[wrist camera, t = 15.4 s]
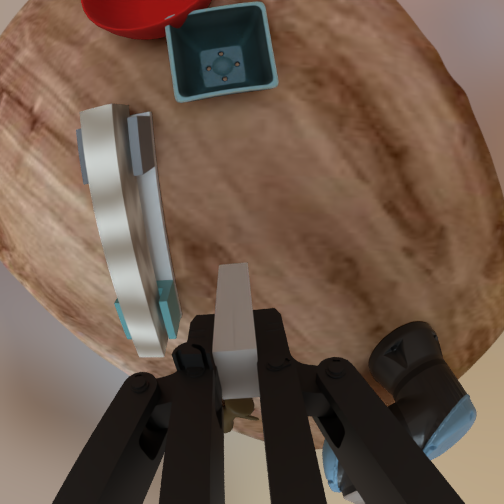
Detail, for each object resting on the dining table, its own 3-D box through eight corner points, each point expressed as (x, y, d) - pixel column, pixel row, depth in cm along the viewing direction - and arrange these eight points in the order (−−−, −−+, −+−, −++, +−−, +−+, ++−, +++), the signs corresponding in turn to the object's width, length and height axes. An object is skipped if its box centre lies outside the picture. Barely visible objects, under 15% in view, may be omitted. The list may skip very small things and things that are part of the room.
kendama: (171, 365, 47) (270, 396, 52) (157, 391, 51) (247, 418, 56) (165, 391, 42) (272, 420, 47) (152, 415, 46) (247, 440, 50)
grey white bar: (169, 332, 39) (164, 357, 35) (146, 332, 39) (139, 356, 35) (128, 105, 26) (111, 103, 22) (100, 111, 26) (79, 112, 22)
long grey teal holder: (182, 313, 42) (177, 341, 36) (138, 315, 41) (128, 341, 36) (151, 111, 29) (136, 111, 24) (98, 122, 29) (75, 125, 24)
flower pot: (179, 40, 26) (162, 16, 18) (255, 28, 26) (264, 0, 18) (189, 108, 30) (175, 104, 22) (266, 96, 30) (279, 87, 22)
